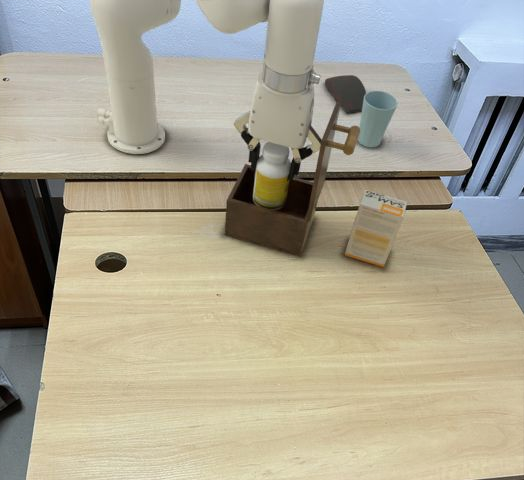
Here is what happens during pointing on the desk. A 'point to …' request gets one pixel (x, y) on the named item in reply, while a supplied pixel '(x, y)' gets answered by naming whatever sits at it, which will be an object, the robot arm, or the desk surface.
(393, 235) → the supplement box
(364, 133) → the cup
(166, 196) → the desk surface
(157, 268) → the desk surface
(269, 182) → the pill bottle
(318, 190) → the lid
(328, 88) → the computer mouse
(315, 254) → the desk surface
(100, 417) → the desk surface
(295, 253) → the chest
